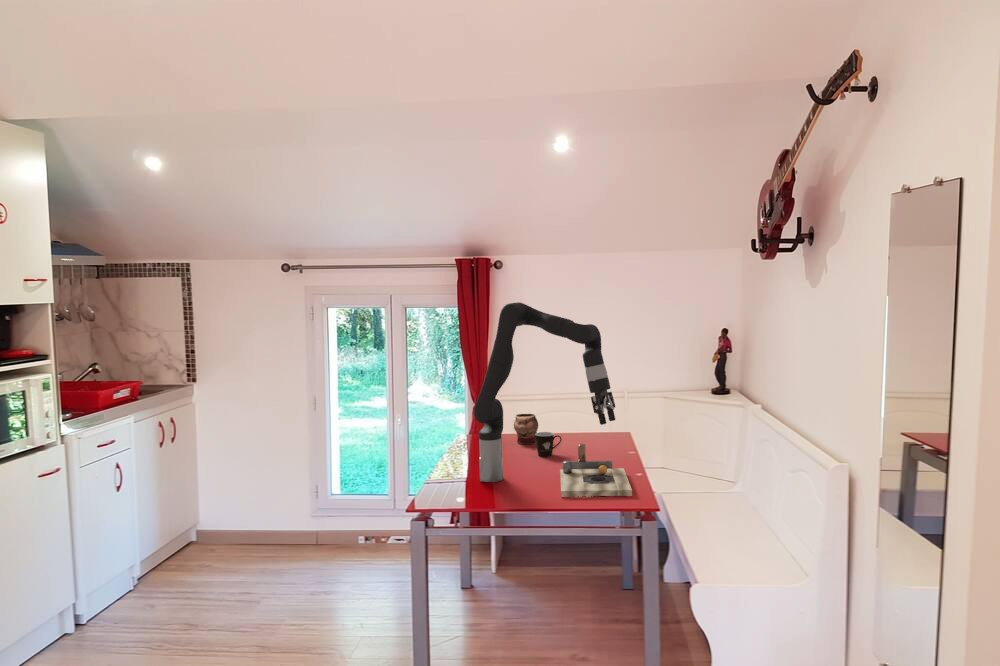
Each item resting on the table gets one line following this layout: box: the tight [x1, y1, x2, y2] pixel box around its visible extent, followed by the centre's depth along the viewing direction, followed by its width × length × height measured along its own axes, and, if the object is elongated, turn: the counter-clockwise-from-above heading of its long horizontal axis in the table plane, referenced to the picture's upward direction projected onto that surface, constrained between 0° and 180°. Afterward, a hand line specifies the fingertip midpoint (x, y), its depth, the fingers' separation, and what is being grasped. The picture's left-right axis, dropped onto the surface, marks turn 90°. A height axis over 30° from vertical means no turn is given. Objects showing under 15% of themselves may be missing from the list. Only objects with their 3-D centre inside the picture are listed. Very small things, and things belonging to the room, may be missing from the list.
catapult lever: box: [562, 443, 613, 474], centre depth 268 cm, size 20×4×11 cm, turn 86°
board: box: [559, 467, 633, 498], centre depth 259 cm, size 26×28×2 cm
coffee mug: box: [535, 431, 562, 458], centre depth 305 cm, size 12×9×10 cm
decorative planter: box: [513, 413, 539, 445], centre depth 333 cm, size 20×12×14 cm, turn 173°
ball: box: [598, 465, 607, 474], centre depth 265 cm, size 4×4×4 cm
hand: (608, 422), depth 238 cm, fingers open, 8 cm apart
